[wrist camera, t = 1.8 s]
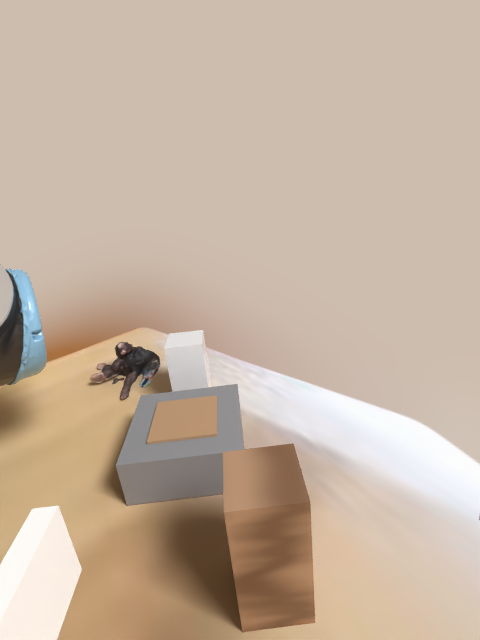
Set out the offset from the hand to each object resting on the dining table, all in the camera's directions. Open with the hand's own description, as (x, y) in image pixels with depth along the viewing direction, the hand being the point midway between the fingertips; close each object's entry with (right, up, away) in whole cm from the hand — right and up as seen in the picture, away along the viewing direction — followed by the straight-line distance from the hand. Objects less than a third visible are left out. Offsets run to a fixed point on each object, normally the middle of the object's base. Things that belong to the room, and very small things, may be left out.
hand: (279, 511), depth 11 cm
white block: (-8, -5, +42) cm, 43 cm away
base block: (-7, -10, +30) cm, 32 cm away
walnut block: (+1, -14, +16) cm, 21 cm away
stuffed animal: (-20, -4, +50) cm, 54 cm away
